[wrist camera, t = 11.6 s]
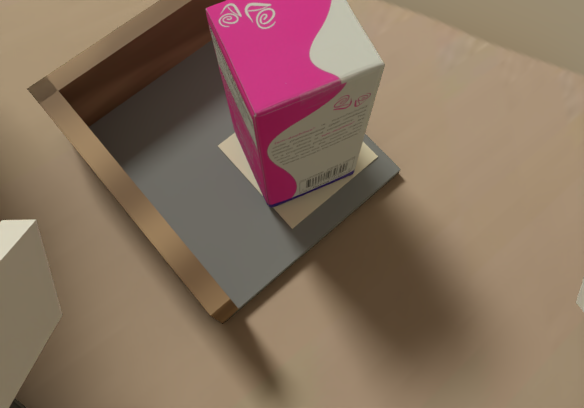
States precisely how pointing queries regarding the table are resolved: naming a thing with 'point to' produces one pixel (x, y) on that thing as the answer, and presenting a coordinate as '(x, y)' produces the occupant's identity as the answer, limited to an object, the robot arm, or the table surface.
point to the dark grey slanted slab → (16, 404)
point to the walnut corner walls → (113, 92)
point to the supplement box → (296, 89)
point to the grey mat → (223, 179)
